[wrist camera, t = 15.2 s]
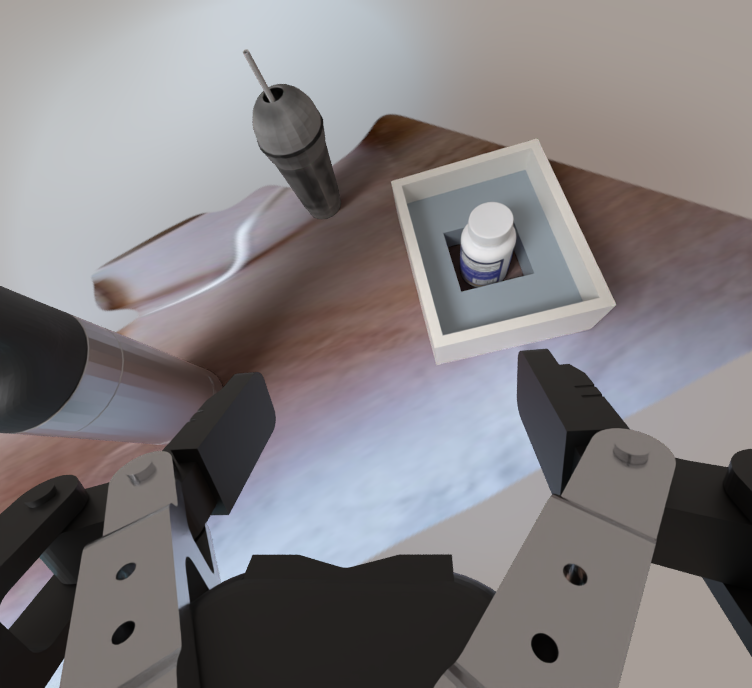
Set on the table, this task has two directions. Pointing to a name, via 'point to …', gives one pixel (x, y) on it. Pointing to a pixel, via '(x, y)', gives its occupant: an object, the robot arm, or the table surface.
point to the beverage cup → (296, 144)
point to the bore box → (533, 250)
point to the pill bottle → (487, 244)
